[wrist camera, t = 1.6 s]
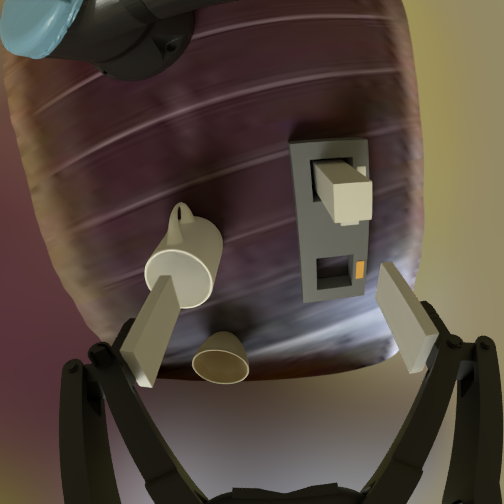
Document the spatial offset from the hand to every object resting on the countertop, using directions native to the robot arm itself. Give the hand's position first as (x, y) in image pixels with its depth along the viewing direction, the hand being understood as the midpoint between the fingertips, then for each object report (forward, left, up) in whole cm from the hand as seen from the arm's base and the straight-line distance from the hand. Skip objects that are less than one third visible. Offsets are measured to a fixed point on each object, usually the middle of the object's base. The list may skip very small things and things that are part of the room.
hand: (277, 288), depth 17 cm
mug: (+5, -12, -24) cm, 27 cm away
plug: (-1, +8, -24) cm, 25 cm away
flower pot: (+28, -12, -24) cm, 39 cm away
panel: (+6, +8, -24) cm, 26 cm away
